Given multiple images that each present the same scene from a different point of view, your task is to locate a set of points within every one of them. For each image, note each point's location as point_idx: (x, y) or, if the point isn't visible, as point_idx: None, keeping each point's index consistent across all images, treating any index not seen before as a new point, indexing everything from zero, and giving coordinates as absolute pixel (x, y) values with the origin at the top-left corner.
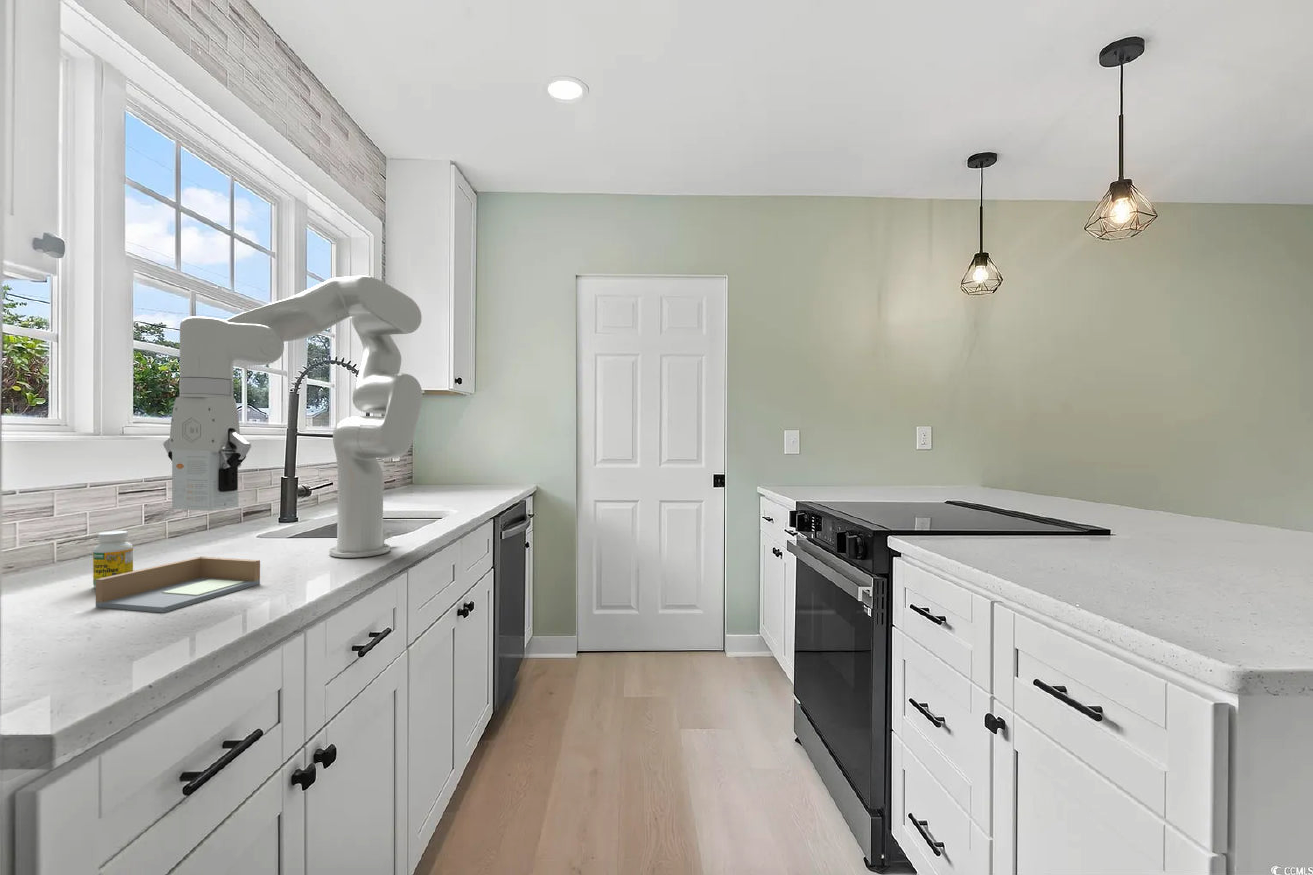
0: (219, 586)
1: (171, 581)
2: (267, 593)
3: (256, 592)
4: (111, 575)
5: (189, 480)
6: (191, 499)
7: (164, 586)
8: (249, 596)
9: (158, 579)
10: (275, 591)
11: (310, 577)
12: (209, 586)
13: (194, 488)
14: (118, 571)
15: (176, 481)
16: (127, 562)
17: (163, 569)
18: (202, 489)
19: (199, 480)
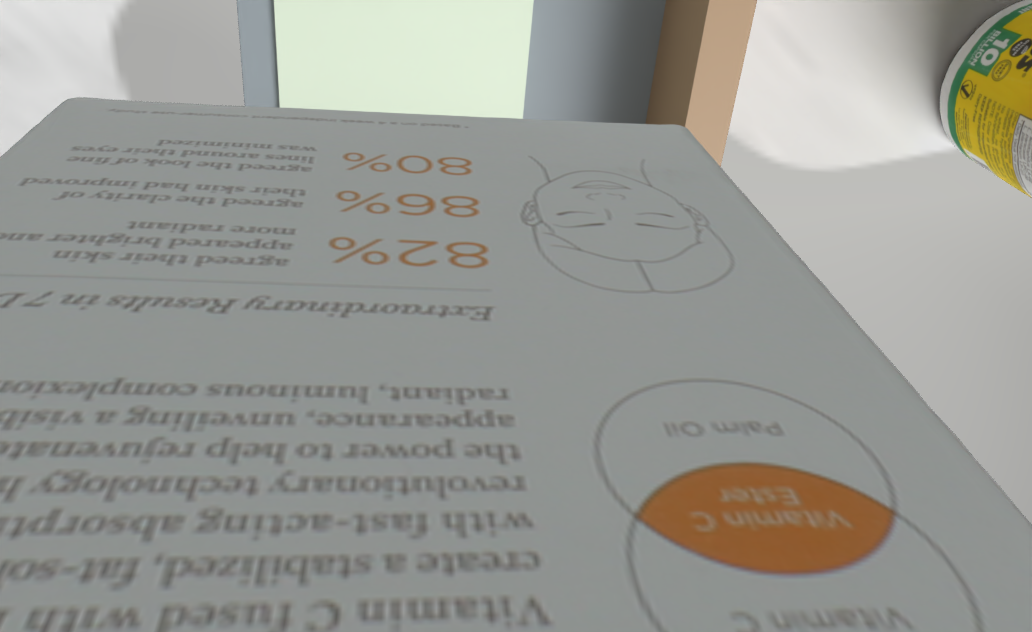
0: (318, 70)
1: (658, 82)
2: (19, 91)
3: (106, 98)
4: (1028, 37)
5: (429, 307)
6: (378, 153)
7: (659, 31)
8: (56, 10)
9: (681, 5)
10: (19, 138)
11: None
12: (377, 59)
13: (309, 228)
14: (1012, 67)
15: (732, 290)
16: (1015, 129)
17: (691, 52)
18: (124, 216)
19: (155, 304)
